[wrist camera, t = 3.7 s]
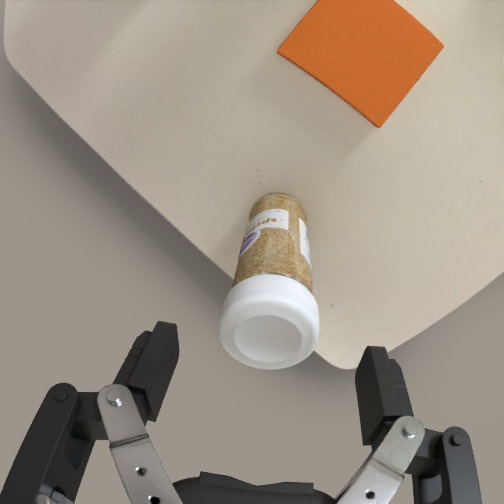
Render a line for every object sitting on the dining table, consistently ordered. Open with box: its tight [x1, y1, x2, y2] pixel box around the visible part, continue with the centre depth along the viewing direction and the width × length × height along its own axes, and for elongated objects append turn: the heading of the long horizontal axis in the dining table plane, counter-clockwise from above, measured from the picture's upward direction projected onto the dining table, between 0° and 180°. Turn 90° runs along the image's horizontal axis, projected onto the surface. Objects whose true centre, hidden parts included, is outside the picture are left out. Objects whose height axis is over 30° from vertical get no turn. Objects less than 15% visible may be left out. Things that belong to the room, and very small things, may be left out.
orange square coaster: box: [277, 0, 444, 128], centre depth 18 cm, size 9×9×1 cm
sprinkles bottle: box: [218, 193, 319, 369], centre depth 19 cm, size 5×5×13 cm
